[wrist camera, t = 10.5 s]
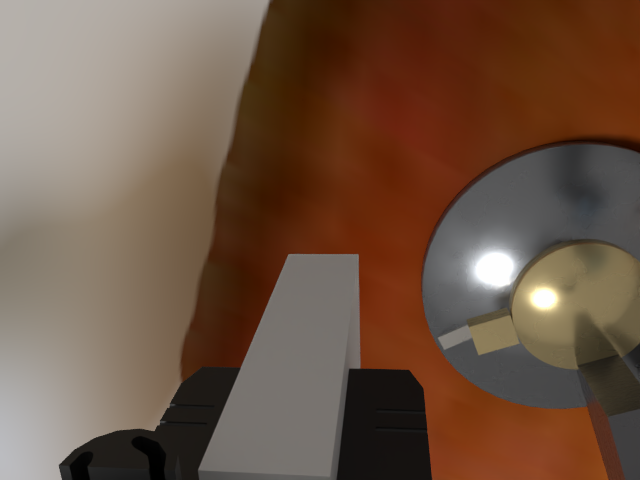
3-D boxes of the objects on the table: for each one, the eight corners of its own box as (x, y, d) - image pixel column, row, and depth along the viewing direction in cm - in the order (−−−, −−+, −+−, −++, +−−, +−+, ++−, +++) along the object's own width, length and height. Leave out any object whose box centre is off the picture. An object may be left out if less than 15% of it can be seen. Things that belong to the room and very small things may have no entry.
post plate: (652, 84, 34) (707, 96, 28) (763, 367, 39) (828, 424, 34) (372, 224, 38) (372, 259, 33) (506, 461, 44) (524, 526, 38)
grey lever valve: (451, 277, 35) (470, 344, 28) (680, 205, 33) (769, 258, 25) (529, 499, 40) (563, 607, 33) (733, 453, 38) (821, 559, 30)
